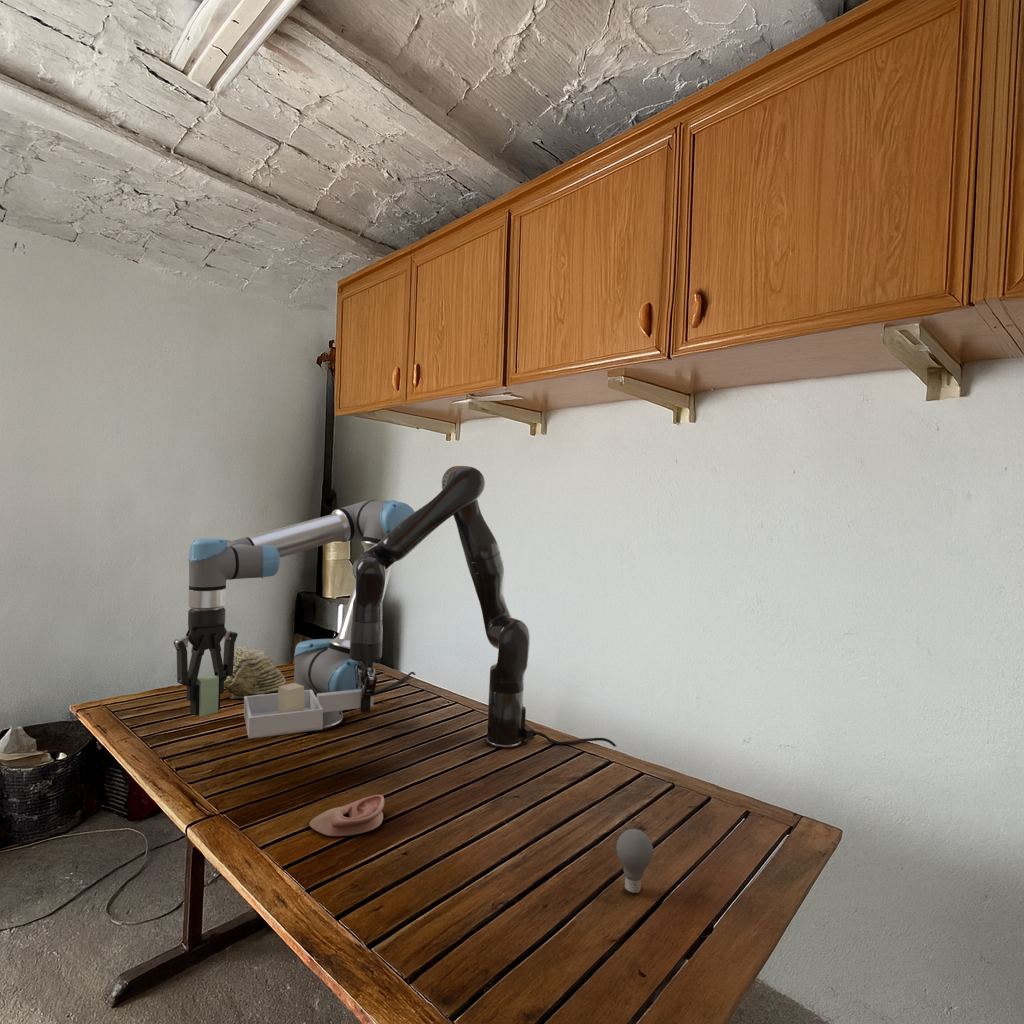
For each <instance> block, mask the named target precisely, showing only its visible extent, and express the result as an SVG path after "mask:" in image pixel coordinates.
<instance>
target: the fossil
mask: <svg viewBox="0 0 1024 1024" xmlns="http://www.w3.org/2000/svg"><path fill="white" fill-rule="evenodd" d="M282 685H287V680H286V678H285V676H284V674H283V673H282V672H281V669H279V668H278V667H277V665H276V663H275V662H274V660H273V659H272V658H271V657H270V656H269V655H268V654H267V653H266V652H265V650H264V649H263V648H260V647H258V648H251V647H247V646H246V647H245V646H238V647H237V648H236V649H234V663H233V674H232V675H231V676H228V677H227V679H226V680H225V681H224V689H225V690H226V691H228V693H229V698H230V699H244V697H245V696H254V695H264V694H274V693H278V687H279V686H282Z"/></svg>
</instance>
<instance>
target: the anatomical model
mask: <svg viewBox="0 0 1024 1024" xmlns="http://www.w3.org/2000/svg"><path fill="white" fill-rule="evenodd" d="M384 806H385V798H384V795H382V794H374V795H369V796H367V797H363V798H361V799H358V800H355V801H353V802H350V803H348V804H345V805H343V806H338V807H333V808H330V809H328V810H325V811H324V812H322V813H320V814H318V815H317V816H315V817H314V818H312V819H311V820H310V821H309V823H308V825H309V827H310V828H311V829H312V830H314V831H315V832H317V833H319V834H322V835H324V836H327V837H346V836H355V835H359V834H364V833H367V832H370V831H373V830H375V829H377V828H378V827H380V826H381V824H382V823H383V820H384V813H383V810H384Z"/></svg>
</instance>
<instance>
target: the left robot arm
mask: <svg viewBox="0 0 1024 1024" xmlns="http://www.w3.org/2000/svg"><path fill="white" fill-rule="evenodd" d="M414 512H416V511H415V510H414V508H413V507H411V506H410V505H409V504H407V503H406V502H402V501H398V500H380V499H379V500H377V499H369V500H362V501H360V502H357V503H353V504H350V505H347V506H344V507H340V508H337V509H334V510H332V512H331V513H330V514H328V515H324V516H320V517H317V518H313V519H309V520H305V521H301V522H298V523H294V524H291V525H287V526H283V527H279V528H275V529H271V530H268V531H263V532H261V533H255V534H252V535H249V536H248V535H247V536H246V537H245V536H244V537H242V538H237V539H234V540H226V539H224V538H218V537H217V538H216V537H213V538H211V537H204V538H203V537H202V538H195V539H193V540H191V542H190V544H189V551H188V552H189V553H188V560H187V561H188V599H187V600H188V603H187V605H188V607H189V609H188V611H187V628H188V629H187V632H186V633H185V636H184V637H181V638H180V639H174V640H173V643H172V644H173V645H174V648H175V650H176V681H177V683H178V684H180V685H182V686H185V687H186V700H187V701H189V702H190V703H189V714H191V715H193V716H195V717H196V716H197V717H198V715H199V690H200V686H199V685H197V684H196V683H197V678H198V676H199V673H200V668H201V664H202V660H203V656H204V654H205V651H207V650H208V651H209V652H210V658H211V662H212V663H211V664H212V668H213V673H214V674H213V675H215V676H217V677H219V695H218V711H221V695H222V694H224V692H225V687H224V681H225V680H226V679H227V677H228V676H231V675H232V674H233V663H234V651H235V647H236V645H235V643H236V641H237V638H238V636H239V635H238V634H239V633H238V632H234V631H232V630H229V631H228V630H227V629H226V625H225V624H226V608H225V607H226V604H227V600H226V597H227V580H229V581H231V580H243V579H244V580H245V579H258V578H260V579H264V578H268V577H273V576H275V575H276V574H278V572H279V570H280V567H281V558H284V557H287V556H290V555H294V554H297V553H300V552H305V551H307V550H311V549H314V548H317V547H322V546H325V545H328V544H331V543H334V542H338V541H339V542H341V543H347V542H350V541H356V540H357V541H361V542H360V543H361V546H362V547H363V549H364V552H365V551H367V550H368V549H369V548H371V547H372V546H374V545H375V544H376V543H378V542H379V541H381V540H382V539H383V538H384V537H385V536H386V535H387V534H388V533H389V532H390V531H391V530H392V529H393V528H395V527H396V526H397V525H398V524H399V523H400V522H401V521H403V520H404V519H405V518H407V517H408V516H409V515H411V514H412V513H414ZM364 552H363V553H364ZM394 564H395V562H394V563H393V564H392V565H391V566H390V567H388V568H387V569H386V580H385V588H384V594H383V599H382V602H383V601H384V598H385V595H386V591H387V587H388V584H389V581H390V578H391V575H392V571H393V568H394ZM352 586H353V587H352V590H351V593H350V595H349V596H350V597H349V599H348V603H347V606H346V609H345V612H344V616H343V618H342V622H341V625H340V628H339V631H338V633H337V636H336V637H335V638H319V639H308V640H303V641H300V642H297V644H296V646H295V650H294V655H293V657H294V672H293V683H296V684H299V685H302V686H304V690H312V691H313V692H314V694H315V696H316V698H317V693H327V692H337V691H347V690H356V689H358V688H356V681H355V668H354V665H355V664H358V661H354V660H352V659H351V658H350V636H351V625H352V610H353V601H354V598H355V597H356V579H355V580H354V584H353V585H352ZM223 640H224V642H223V657H222V647H221V642H222V641H223ZM189 643H190V645H191V656H190V660H189V661H188V649H187V648H188V647H189ZM188 663H189V664H188ZM411 675H413V676H416V673H415V672H414V671H410V672H409V673H407V675H405V676H404V677H402V678H401V679H399V680H397V681H396V682H394V683H392V684H390V685H387V686H385V687H382V688H379V689H377V690H376V689H375V692H374V695H375V694H377V693H380V692H383V691H385V690H388V689H391V688H392V687H394V686H396V685H399V684H400V683H401V682H403V681H404V680H406V679H407V678H409V677H410V676H411ZM374 676H376V674H375V675H374ZM343 722H344V714H343V710H339V711H331V712H323V727H322V729H321V730H313V731H305V732H304V733H316V732H325V731H329V730H332V729H335V728H337V727H339V726H340V725H342V723H343Z"/></svg>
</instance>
